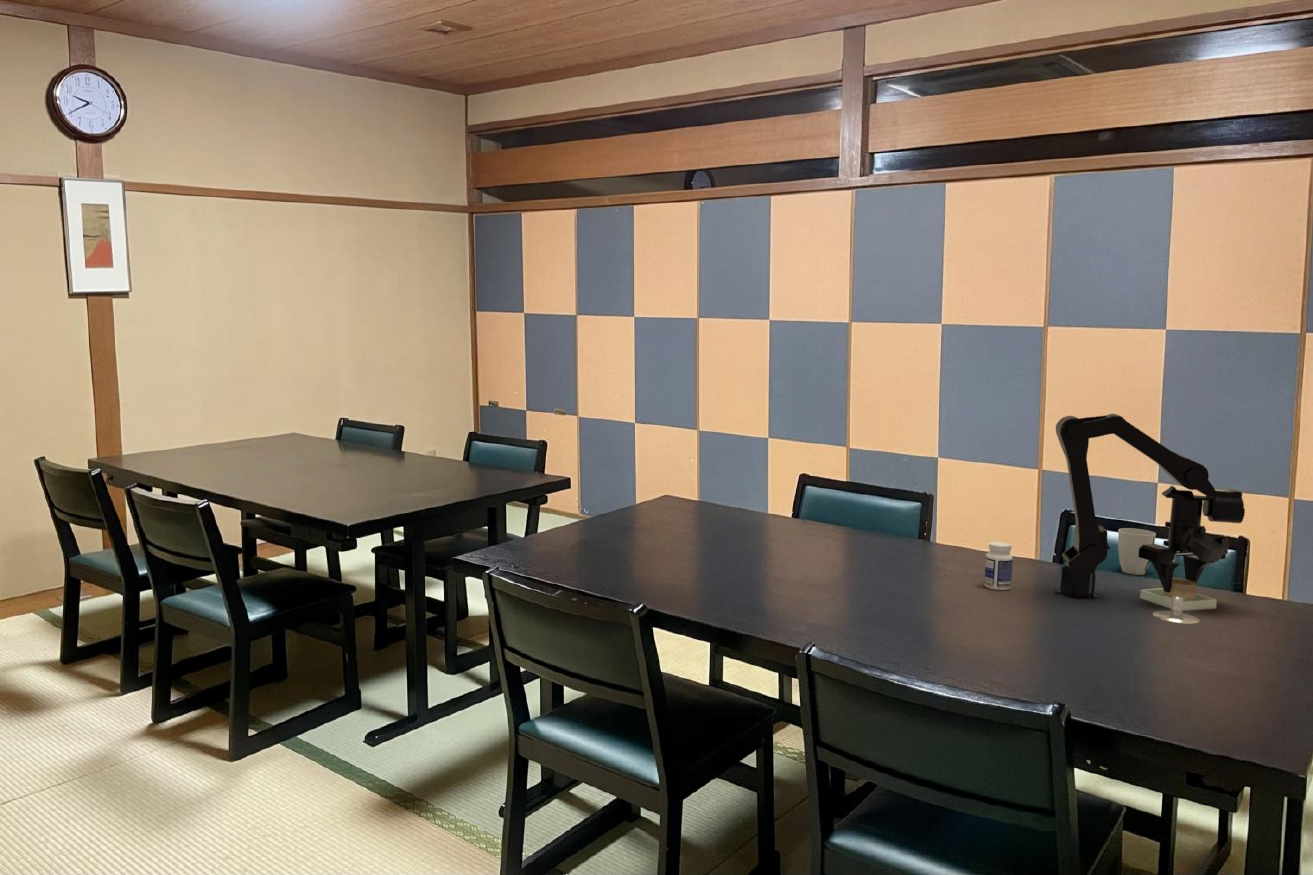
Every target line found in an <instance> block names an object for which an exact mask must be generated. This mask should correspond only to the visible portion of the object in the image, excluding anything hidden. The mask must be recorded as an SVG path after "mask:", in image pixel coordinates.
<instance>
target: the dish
mask: <svg viewBox="0 0 1313 875" xmlns="http://www.w3.org/2000/svg"><path fill="white" fill-rule="evenodd" d="M1162 592H1163V587H1161V588H1160V587H1159V588H1149V589H1148V588H1147V589H1141V590H1140V596H1139V599H1142V600H1145V601H1147V602H1150V603H1153V604H1155V605H1158V606H1162V607H1164V608H1167V609H1169V610H1171V606H1172V598H1170V597H1167V596H1164V595H1163V593H1162ZM1217 603H1218V600H1217V599H1216V598H1212V597H1209V596H1206V595H1203V594H1200V593H1196V592H1195V599H1194V600H1183V608H1182V612H1192V611H1201V610H1202V611H1203V610H1212V609H1217Z"/></svg>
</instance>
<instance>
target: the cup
mask: <svg viewBox="0 0 1313 875" xmlns="http://www.w3.org/2000/svg"><path fill="white" fill-rule="evenodd" d="M1117 533H1118V536H1117V537H1118V538H1117V539H1118V540H1117V542H1118V543H1117V546H1118V547H1117V548H1118V558H1119V564H1120V567H1121V571H1122V572H1123V573H1125V574H1130V575H1135V576H1138V575H1139V576H1140V575H1145V574H1146V572H1147V570H1148V567H1149V566H1150V563H1151V561H1148V560H1147V559H1143V558H1140V557H1138V554H1139V547H1141V546H1142V545H1145V544H1155V541H1156V536H1157V533H1156V532H1155V531H1151V530H1147V529H1140V528H1132V527H1126V528H1125V527H1123V528H1119V529H1118V531H1117Z"/></svg>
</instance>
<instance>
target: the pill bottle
mask: <svg viewBox="0 0 1313 875" xmlns="http://www.w3.org/2000/svg"><path fill="white" fill-rule="evenodd" d="M988 549H989V551H988V552H987V553H986V554H985V564H984V565H985V566H984V578H983V579H984V580H983V582H984V583H983V584H984V587H986V588H987V589H990V590H997V591H1007V590H1008V591H1009V590H1010V589H1011V588H1012V574H1013V562H1014V557H1013V555H1012V554H1011V553H1010V552H1011V551H1012V544H1010V543H1008V542H1002V541H991V542H989V544H988Z"/></svg>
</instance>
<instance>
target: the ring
mask: <svg viewBox="0 0 1313 875" xmlns="http://www.w3.org/2000/svg"><path fill="white" fill-rule="evenodd" d="M1196 588H1197V583H1196V582H1194V581H1190V580H1187V579H1185V578H1182V577H1181V578H1179V577H1175V576H1173V579H1172V586H1171V590H1170V592H1169V593H1168V592H1165V591H1164V589H1163V592H1162V593H1163V595H1164V596H1167V597H1170V598H1172V596H1181V597H1183V600H1194V599H1195V593H1196Z"/></svg>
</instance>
